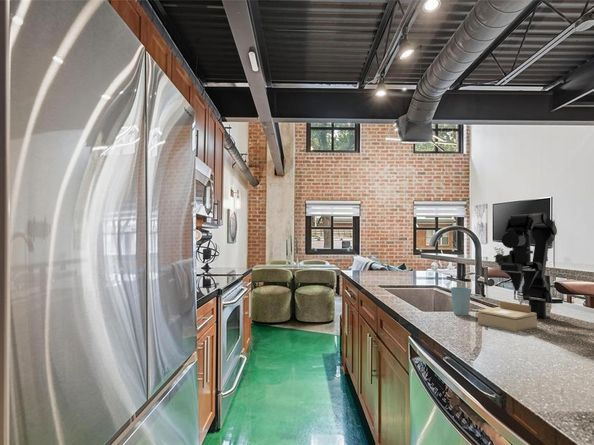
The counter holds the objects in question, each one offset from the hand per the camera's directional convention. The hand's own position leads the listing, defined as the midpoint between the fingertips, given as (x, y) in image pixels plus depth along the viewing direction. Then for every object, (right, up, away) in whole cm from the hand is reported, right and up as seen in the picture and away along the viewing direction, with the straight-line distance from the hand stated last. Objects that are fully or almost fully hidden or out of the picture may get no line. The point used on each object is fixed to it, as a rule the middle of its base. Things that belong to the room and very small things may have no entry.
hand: (522, 289), depth 132 cm
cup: (-17, -13, +12) cm, 24 cm away
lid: (-9, -7, -6) cm, 13 cm away
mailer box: (-9, -12, -6) cm, 16 cm away
